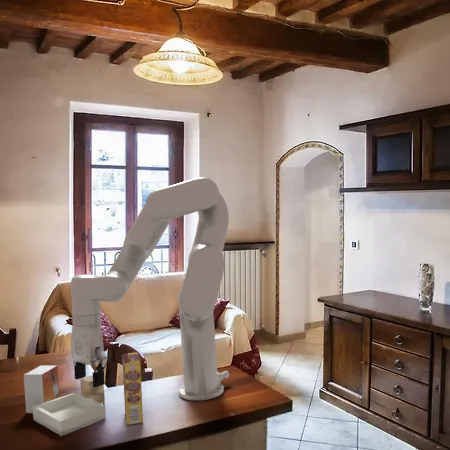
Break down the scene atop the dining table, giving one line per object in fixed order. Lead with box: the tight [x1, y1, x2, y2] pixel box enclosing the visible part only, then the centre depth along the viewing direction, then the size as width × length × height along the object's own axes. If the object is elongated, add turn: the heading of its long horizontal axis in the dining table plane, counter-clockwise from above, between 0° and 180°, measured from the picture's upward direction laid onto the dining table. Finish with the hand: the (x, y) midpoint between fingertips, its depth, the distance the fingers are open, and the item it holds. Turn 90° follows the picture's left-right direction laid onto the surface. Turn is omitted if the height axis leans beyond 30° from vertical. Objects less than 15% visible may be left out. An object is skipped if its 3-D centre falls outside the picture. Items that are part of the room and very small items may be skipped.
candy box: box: [121, 352, 144, 426], centre depth 123 cm, size 9×4×15 cm, turn 14°
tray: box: [32, 392, 107, 437], centre depth 124 cm, size 12×15×4 cm
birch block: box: [79, 374, 106, 403], centre depth 134 cm, size 4×4×7 cm
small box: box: [23, 365, 60, 414], centre depth 133 cm, size 8×6×10 cm
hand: (89, 381), depth 134 cm, fingers open, 9 cm apart
